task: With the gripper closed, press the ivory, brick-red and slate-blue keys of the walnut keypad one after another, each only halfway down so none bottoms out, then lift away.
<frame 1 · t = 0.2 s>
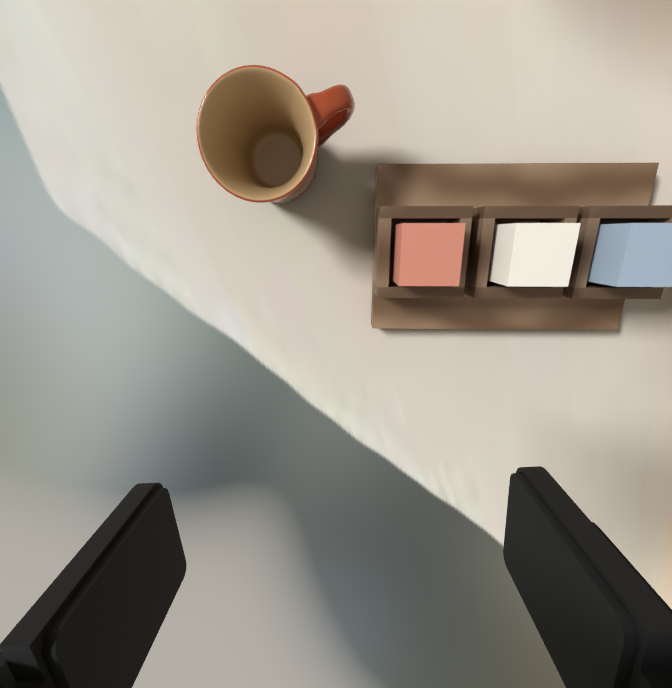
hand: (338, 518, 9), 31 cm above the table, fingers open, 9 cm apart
keypad: (496, 251, 37), on the table
slate key: (636, 254, 30), point 7 cm above the table, slide at 0.0 cm
ivory key: (530, 254, 30), point 7 cm above the table, slide at 0.0 cm
brick key: (425, 254, 30), point 7 cm above the table, slide at 0.0 cm
mug: (296, 157, 35), on the table
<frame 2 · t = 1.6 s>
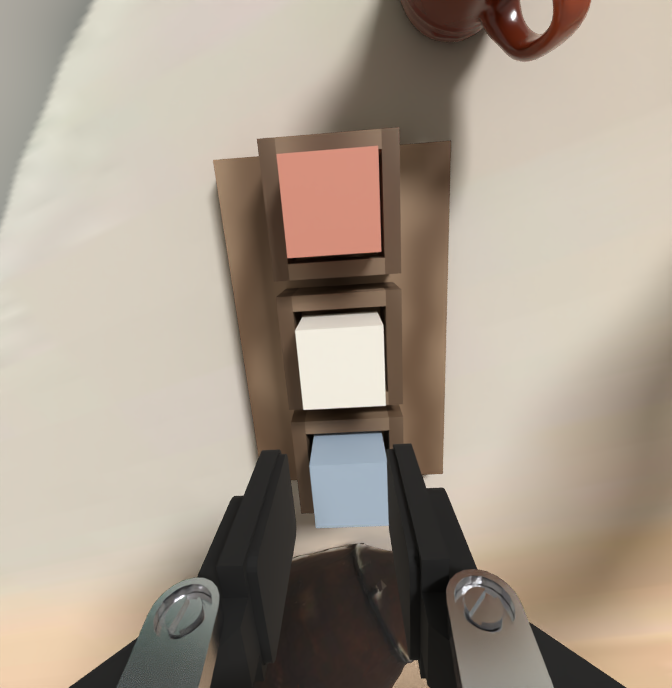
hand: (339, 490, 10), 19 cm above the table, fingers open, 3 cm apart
keypad: (342, 330, 29), on the table
slate key: (349, 476, 25), point 7 cm above the table, slide at 0.0 cm
ivory key: (342, 358, 22), point 7 cm above the table, slide at 0.0 cm
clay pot: (312, 582, 37), on the table
brick key: (332, 207, 20), point 7 cm above the table, slide at 0.0 cm
mug: (459, 11, 23), on the table
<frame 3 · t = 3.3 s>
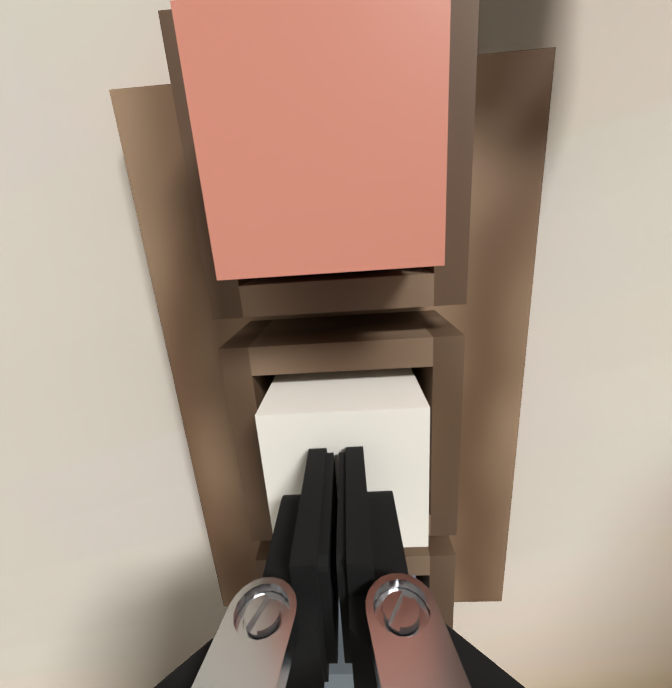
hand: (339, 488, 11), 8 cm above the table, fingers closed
keypad: (346, 382, 18), on the table
slate key: (359, 656, 14), point 7 cm above the table, slide at 0.0 cm
ivory key: (346, 446, 12), point 6 cm above the table, slide at 1.2 cm, touching gripper
brick key: (325, 165, 9), point 7 cm above the table, slide at 0.0 cm
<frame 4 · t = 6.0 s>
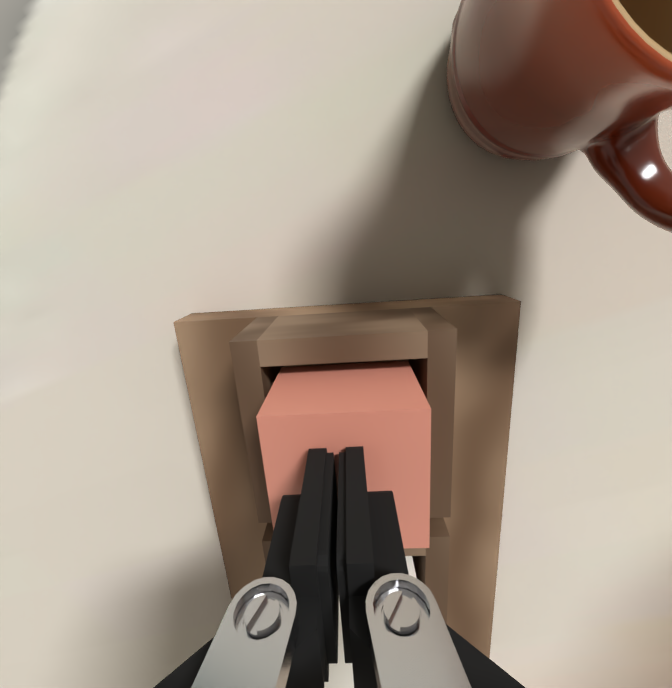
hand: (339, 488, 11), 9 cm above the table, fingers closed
keypad: (356, 509, 22), on the table
ivory key: (358, 600, 16), point 6 cm above the table, slide at 1.3 cm
brick key: (347, 448, 13), point 7 cm above the table, slide at 0.2 cm, touching gripper
mug: (535, 111, 15), on the table
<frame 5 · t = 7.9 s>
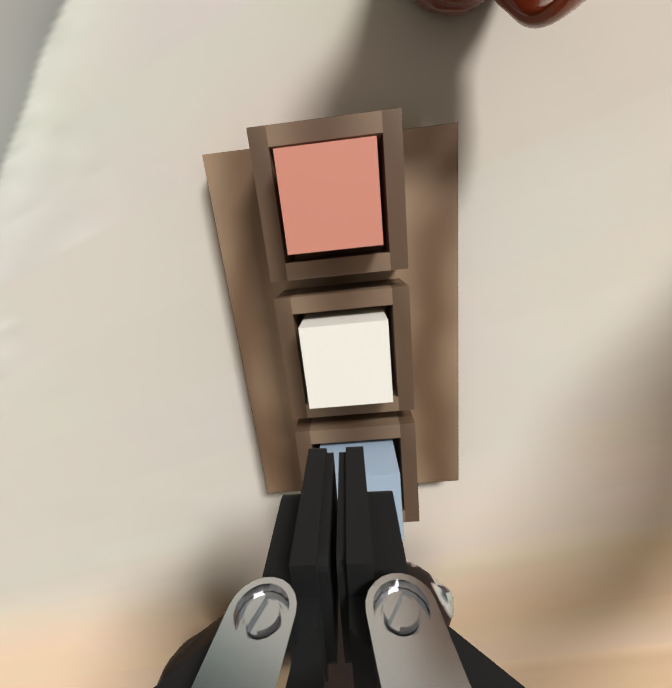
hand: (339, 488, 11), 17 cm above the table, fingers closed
keypad: (347, 331, 27), on the table
slate key: (359, 488, 23), point 7 cm above the table, slide at 0.0 cm
ivory key: (347, 355, 22), point 6 cm above the table, slide at 1.3 cm
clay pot: (324, 594, 36), on the table
brick key: (331, 202, 19), point 6 cm above the table, slide at 1.4 cm
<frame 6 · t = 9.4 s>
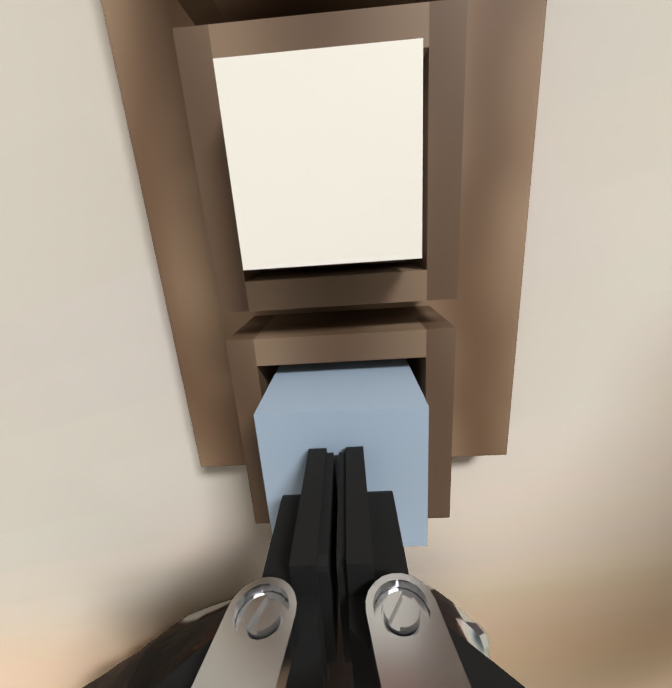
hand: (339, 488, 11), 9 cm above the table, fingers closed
keypad: (334, 197, 16), on the table
slate key: (345, 446, 12), point 7 cm above the table, slide at 0.3 cm, touching gripper
ivory key: (328, 177, 11), point 6 cm above the table, slide at 1.3 cm
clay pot: (292, 621, 25), on the table
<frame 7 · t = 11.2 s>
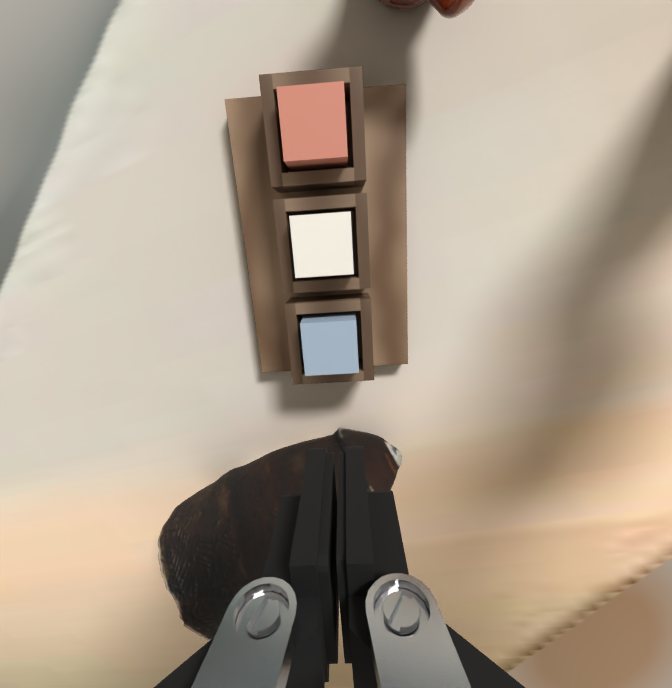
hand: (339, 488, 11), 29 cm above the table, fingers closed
keypad: (326, 244, 36), on the table
slate key: (330, 342, 33), point 6 cm above the table, slide at 1.3 cm
ivory key: (323, 245, 31), point 6 cm above the table, slide at 1.3 cm
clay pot: (304, 472, 45), on the table
brick key: (314, 130, 28), point 6 cm above the table, slide at 1.4 cm
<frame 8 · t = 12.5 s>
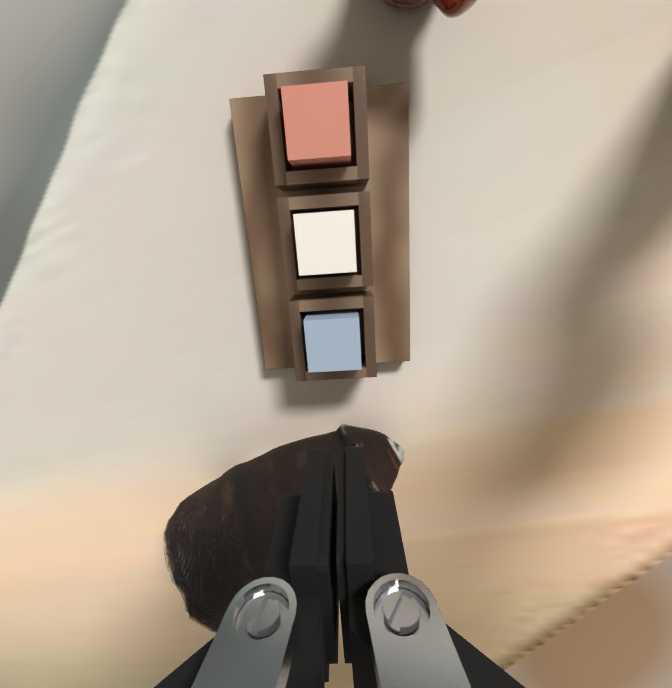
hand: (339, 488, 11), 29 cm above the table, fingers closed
keypad: (329, 242, 36), on the table
slate key: (333, 339, 34), point 6 cm above the table, slide at 1.3 cm
ivory key: (326, 243, 31), point 6 cm above the table, slide at 1.3 cm
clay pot: (306, 469, 45), on the table
brick key: (318, 129, 28), point 6 cm above the table, slide at 1.4 cm
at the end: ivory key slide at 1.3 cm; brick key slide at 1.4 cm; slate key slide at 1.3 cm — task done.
